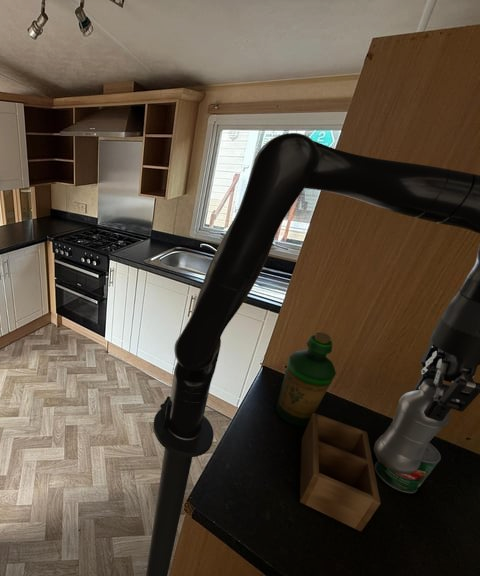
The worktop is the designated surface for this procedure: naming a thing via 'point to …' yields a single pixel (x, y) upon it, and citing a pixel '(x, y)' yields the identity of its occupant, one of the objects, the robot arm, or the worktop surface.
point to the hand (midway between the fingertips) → (426, 404)
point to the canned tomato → (415, 479)
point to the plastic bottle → (409, 431)
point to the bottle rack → (338, 472)
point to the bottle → (306, 380)
